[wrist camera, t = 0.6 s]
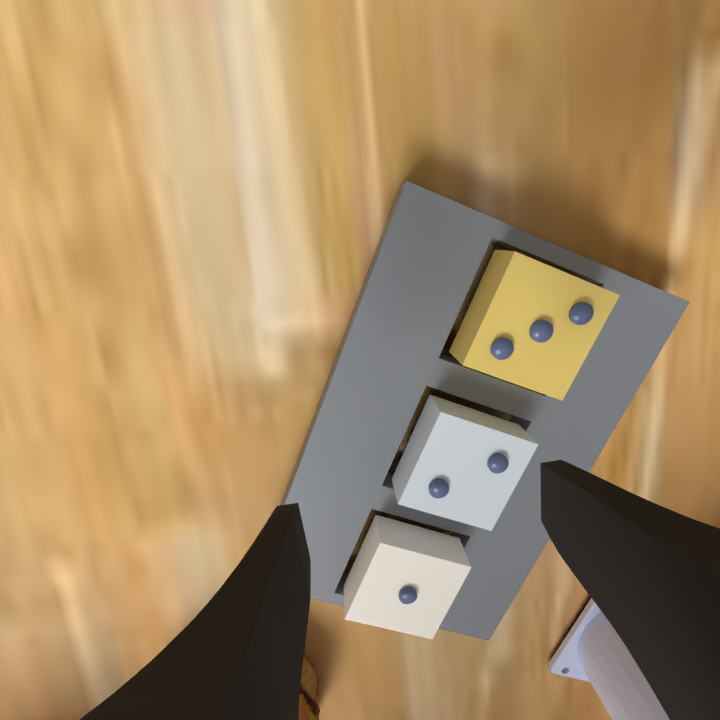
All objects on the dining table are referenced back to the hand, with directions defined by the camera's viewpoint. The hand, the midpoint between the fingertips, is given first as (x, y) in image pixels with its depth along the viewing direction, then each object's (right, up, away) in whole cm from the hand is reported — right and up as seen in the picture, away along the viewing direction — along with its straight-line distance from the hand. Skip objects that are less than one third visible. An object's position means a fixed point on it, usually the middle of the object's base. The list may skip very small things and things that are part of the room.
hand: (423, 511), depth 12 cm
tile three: (+5, +6, +6) cm, 10 cm away
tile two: (+3, 0, +8) cm, 9 cm away
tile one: (0, -6, +10) cm, 12 cm away
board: (+3, 0, +9) cm, 10 cm away
